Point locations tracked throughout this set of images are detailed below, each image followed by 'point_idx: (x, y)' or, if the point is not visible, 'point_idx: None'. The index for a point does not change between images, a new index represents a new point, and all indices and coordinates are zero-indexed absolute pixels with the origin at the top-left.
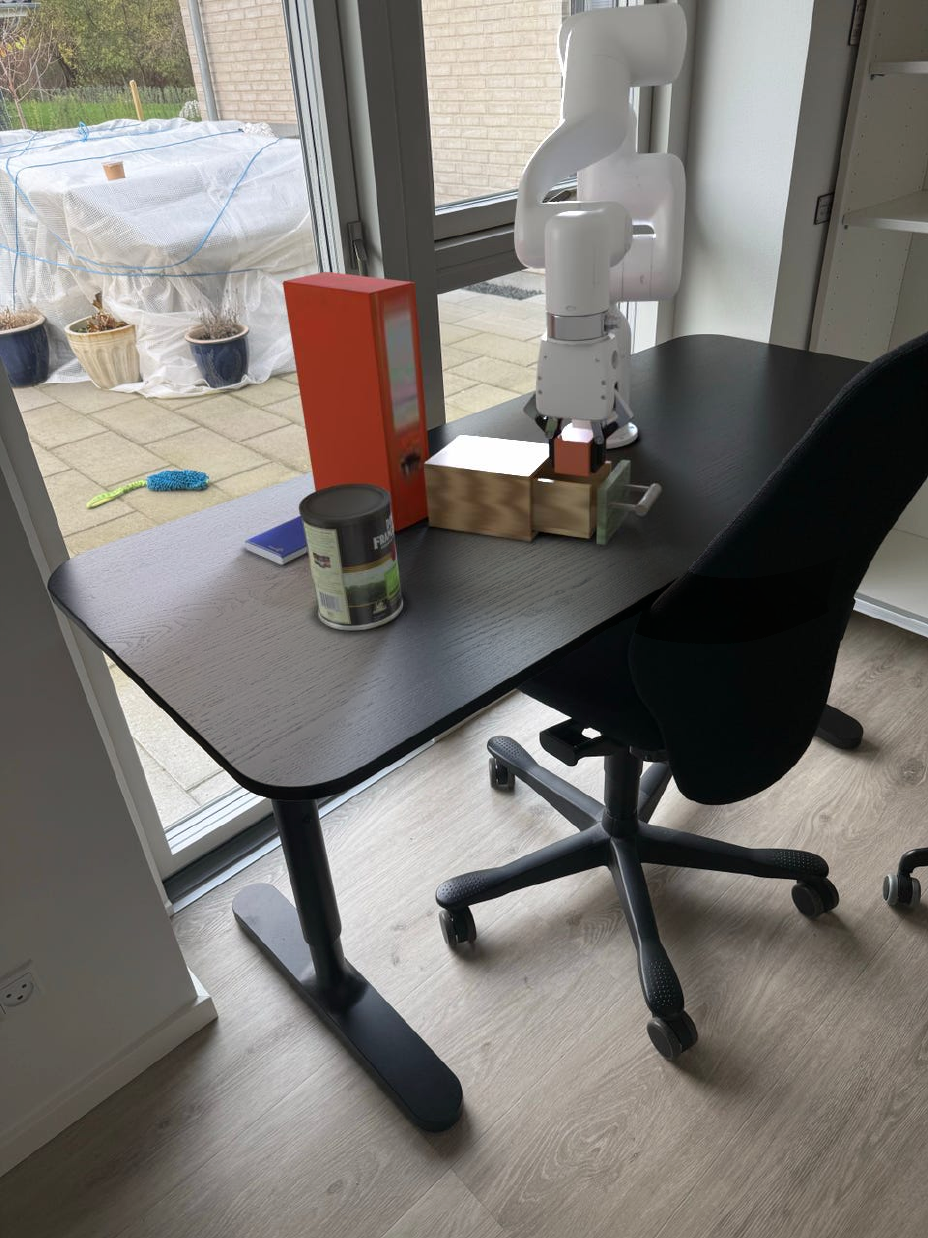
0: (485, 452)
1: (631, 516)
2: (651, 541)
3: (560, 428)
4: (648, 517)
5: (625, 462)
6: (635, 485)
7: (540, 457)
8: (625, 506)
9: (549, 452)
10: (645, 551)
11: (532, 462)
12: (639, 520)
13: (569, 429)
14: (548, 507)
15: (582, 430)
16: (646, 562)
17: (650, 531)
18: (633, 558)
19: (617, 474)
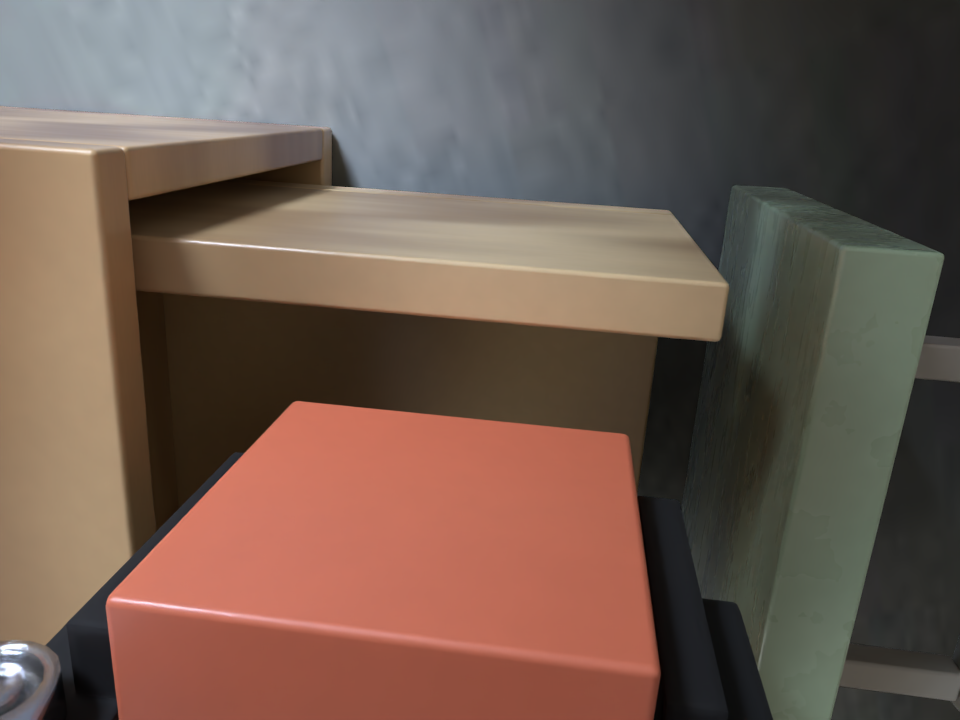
0: None
1: (794, 141)
2: (945, 437)
3: (54, 710)
4: (908, 129)
5: (893, 321)
6: (935, 357)
7: (66, 505)
8: (882, 691)
9: None
10: (918, 546)
11: (59, 624)
12: (852, 188)
13: (184, 681)
14: None
15: (385, 696)
16: (930, 645)
17: (932, 320)
18: (861, 620)
19: (842, 609)
